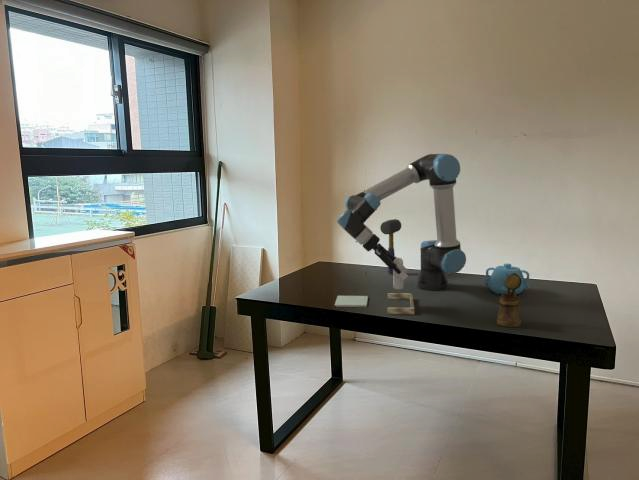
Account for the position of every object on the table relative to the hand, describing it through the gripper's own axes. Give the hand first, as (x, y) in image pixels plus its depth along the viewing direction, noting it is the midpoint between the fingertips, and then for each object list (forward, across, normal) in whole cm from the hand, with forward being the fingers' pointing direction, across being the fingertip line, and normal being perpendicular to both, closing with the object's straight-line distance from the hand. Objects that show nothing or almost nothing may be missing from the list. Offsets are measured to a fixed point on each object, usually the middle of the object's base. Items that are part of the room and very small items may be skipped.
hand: (405, 274), depth 211 cm
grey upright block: (+2, 0, -6) cm, 6 cm away
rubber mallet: (+6, -57, -14) cm, 59 cm away
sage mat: (-7, -5, -27) cm, 28 cm away
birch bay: (+8, 0, -12) cm, 14 cm away
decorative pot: (+44, -23, +23) cm, 55 cm away
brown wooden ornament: (+38, +18, +17) cm, 45 cm away
